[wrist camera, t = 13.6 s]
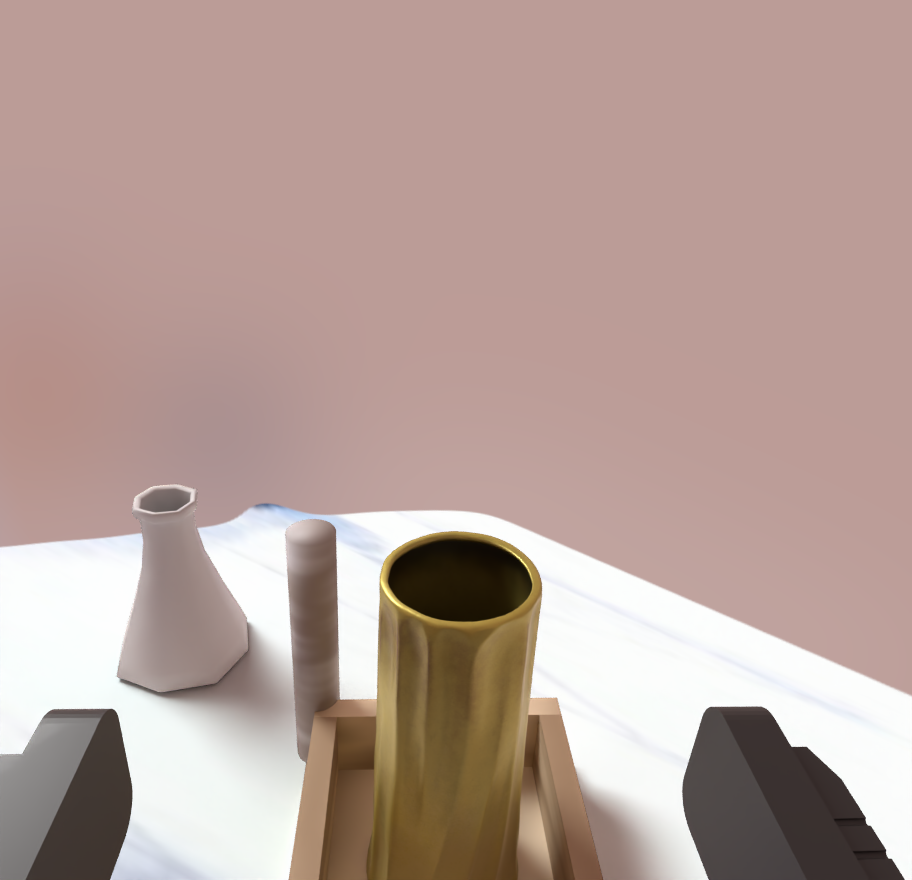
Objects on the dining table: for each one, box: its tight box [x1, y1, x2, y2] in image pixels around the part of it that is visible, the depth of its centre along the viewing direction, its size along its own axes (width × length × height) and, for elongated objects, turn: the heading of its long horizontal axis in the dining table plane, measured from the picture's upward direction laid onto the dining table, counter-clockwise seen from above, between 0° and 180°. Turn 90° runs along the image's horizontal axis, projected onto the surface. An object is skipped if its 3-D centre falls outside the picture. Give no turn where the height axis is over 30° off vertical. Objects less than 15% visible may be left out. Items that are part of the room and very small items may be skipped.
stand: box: [285, 519, 603, 880], centre depth 27 cm, size 12×13×13 cm
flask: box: [117, 484, 248, 692], centre depth 39 cm, size 7×7×10 cm
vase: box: [366, 531, 542, 880], centre depth 26 cm, size 6×6×14 cm
